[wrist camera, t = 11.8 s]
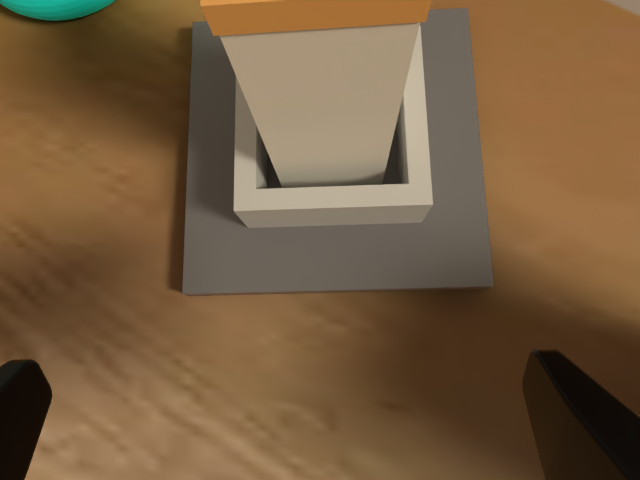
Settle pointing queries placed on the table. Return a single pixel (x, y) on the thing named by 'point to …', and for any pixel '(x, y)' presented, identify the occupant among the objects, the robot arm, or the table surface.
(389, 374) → the table surface
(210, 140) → the socket
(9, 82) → the table surface
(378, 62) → the plug
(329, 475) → the table surface
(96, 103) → the table surface
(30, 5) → the donuts
